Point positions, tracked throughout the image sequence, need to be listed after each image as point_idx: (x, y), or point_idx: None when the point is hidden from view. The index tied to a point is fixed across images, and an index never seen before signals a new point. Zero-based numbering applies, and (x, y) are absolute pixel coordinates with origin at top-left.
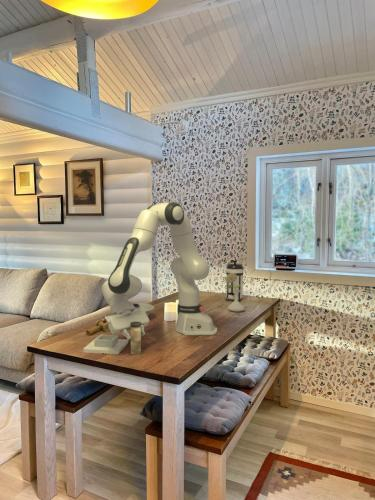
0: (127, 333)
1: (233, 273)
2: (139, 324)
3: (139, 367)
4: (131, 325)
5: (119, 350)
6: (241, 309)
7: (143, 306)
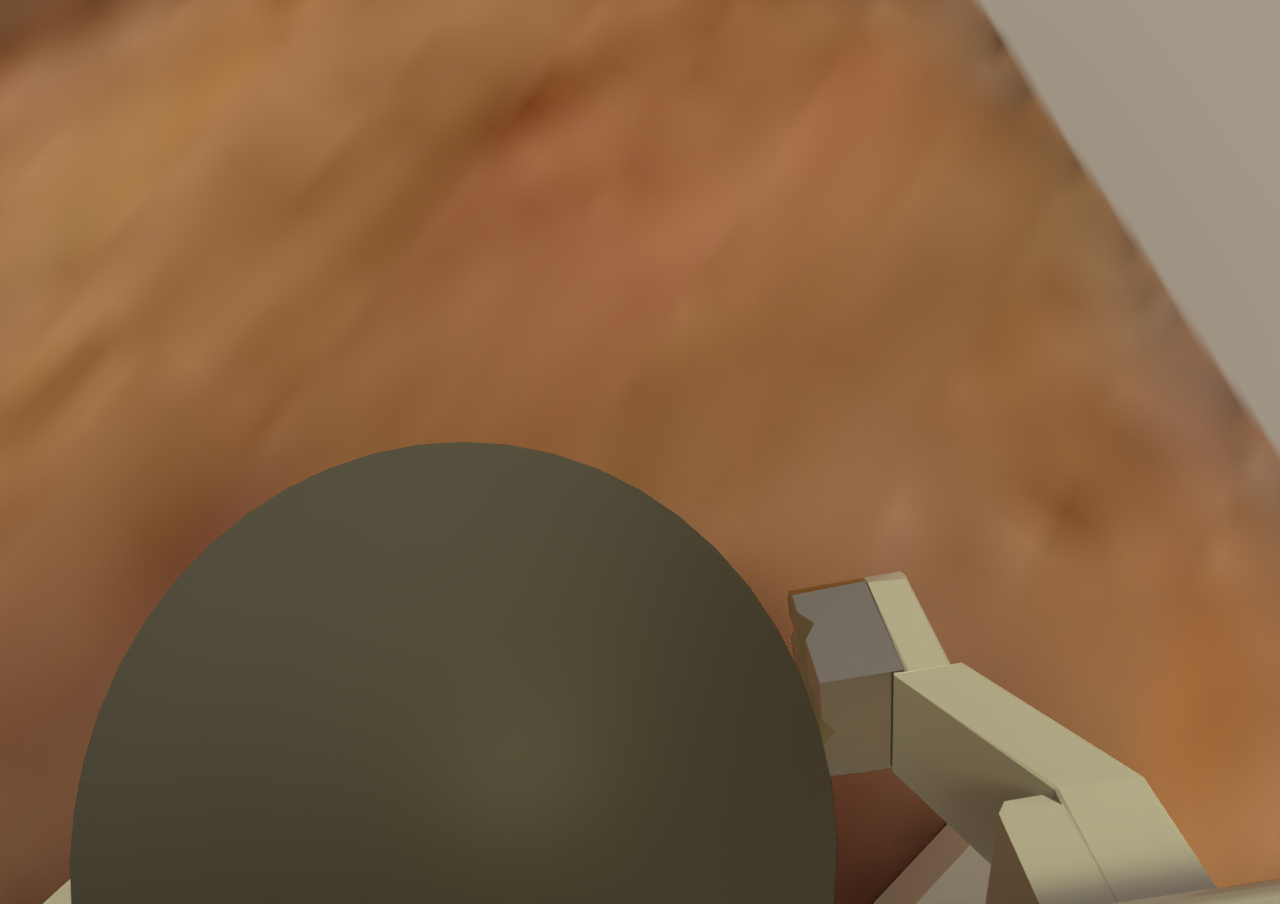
0: (973, 690)
1: None
2: (410, 455)
3: (919, 62)
4: (815, 761)
5: (919, 887)
6: None
7: None
